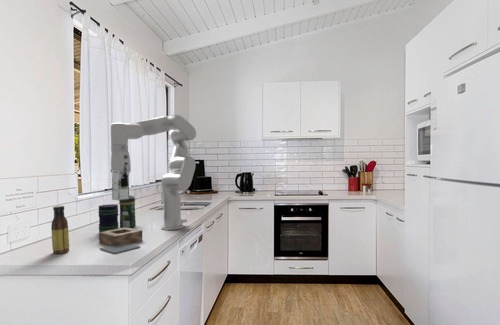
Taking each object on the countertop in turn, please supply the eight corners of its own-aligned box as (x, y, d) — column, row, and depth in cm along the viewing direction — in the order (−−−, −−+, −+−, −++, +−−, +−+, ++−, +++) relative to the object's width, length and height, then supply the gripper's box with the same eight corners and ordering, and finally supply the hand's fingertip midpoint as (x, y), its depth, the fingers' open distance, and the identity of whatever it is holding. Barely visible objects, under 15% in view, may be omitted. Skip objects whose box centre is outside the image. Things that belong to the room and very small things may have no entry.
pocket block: (126, 237, 163) (126, 227, 163) (142, 240, 155) (142, 230, 155) (99, 242, 152) (99, 232, 152) (115, 247, 144) (115, 236, 144)
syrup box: (123, 198, 158) (122, 169, 158) (129, 199, 154) (128, 169, 154) (112, 199, 154) (111, 169, 153) (118, 200, 150) (117, 169, 150)
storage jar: (122, 231, 178) (121, 204, 178) (112, 235, 168) (112, 206, 168) (105, 230, 179) (104, 204, 179) (94, 235, 169) (94, 206, 169)
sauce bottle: (65, 249, 141) (65, 204, 141) (71, 251, 137) (71, 205, 137) (49, 252, 136) (48, 206, 136) (55, 255, 132) (54, 207, 132)
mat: (125, 243, 150) (125, 242, 150) (140, 247, 143) (140, 246, 143) (100, 249, 140) (100, 248, 140) (114, 254, 133) (114, 252, 133)
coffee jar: (124, 225, 194) (123, 194, 194) (137, 225, 194) (136, 194, 194) (117, 228, 185) (117, 196, 184) (131, 228, 184) (130, 196, 184)
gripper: (137, 148, 151) (138, 186, 152) (117, 149, 162) (118, 185, 162) (122, 148, 145) (123, 187, 146) (102, 149, 156) (103, 186, 156)
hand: (120, 186), depth 154 cm, fingers closed on syrup box, 5 cm apart
